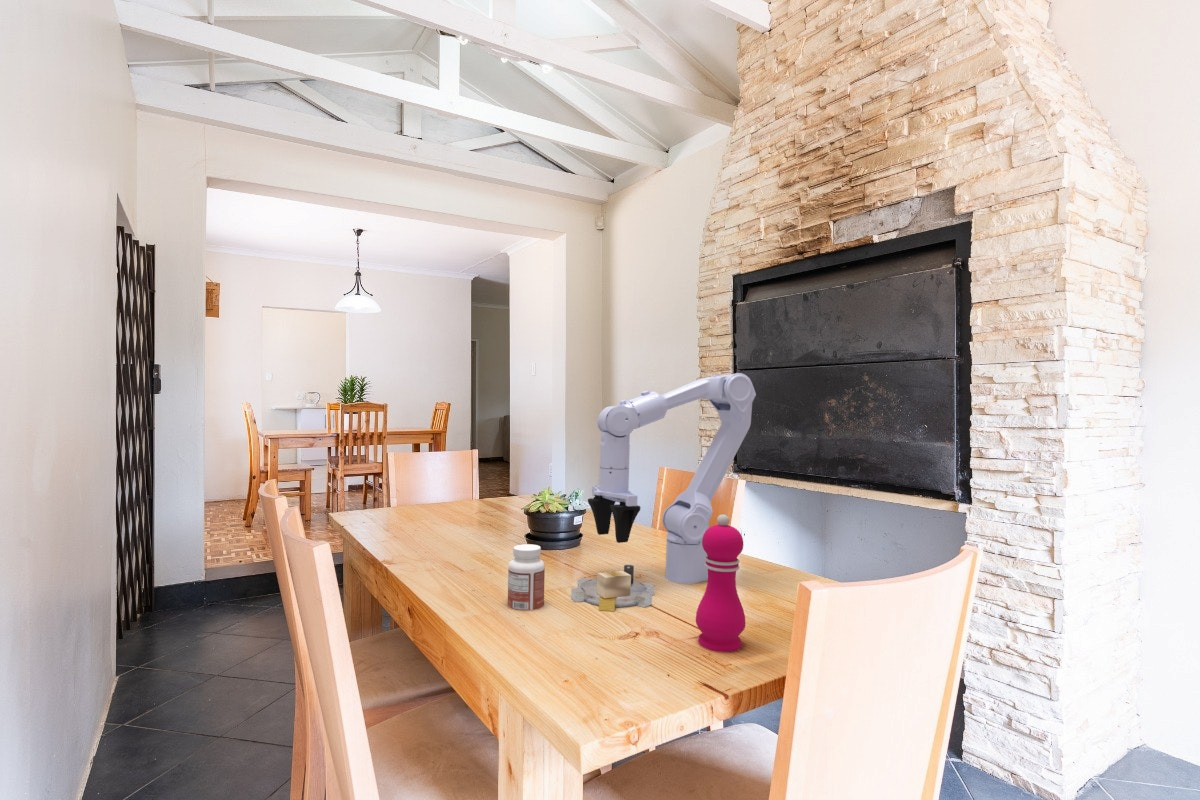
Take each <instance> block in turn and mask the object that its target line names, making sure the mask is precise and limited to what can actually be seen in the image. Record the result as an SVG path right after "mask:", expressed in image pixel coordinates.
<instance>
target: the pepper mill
mask: <svg viewBox="0 0 1200 800" xmlns="http://www.w3.org/2000/svg"><path fill="white" fill-rule="evenodd" d="M716 522H717V524H714V525H711V526H709V528H708V529H707V530H706V531H705V533H704V535H703V538H702V546H703V549H704V551H705V552H706V553H707V556H706V557H705V561H706V563H705V567H706V568H708V581H706V582H707V583H706V588H705V591H704V593H703V596H702V598H701V600H700V602H699V603H698V606H697V609H696V614H695V623H696V626H697V628H698V630H700V632H701V633H700V634H699V635H698V639H697V640H698V644H699V645H700V646H701V647H702V648H704V649H707V650H710V651H714V652H719V653H727V652H728V653H732V652H736V651H738V650H740V649H741V648H742V639H741V638H740V635H741V634H742V633H743V632H744V630H745V628H746V615H745V610H744V608H743V605H742V602H741V600H740V598H739V594H738V590H737V584H736V581H737V580H736V576H737V571H738V570H739V569H740V566H739V563H740V559H738V557H739V555H740V554H741V553H742V552H743V550H744V538H743V536H742V534H741V532H740V531H739V530H738V529H737V528H735V527H734V526H731V525H729V524H730V518H729V516H728V515H726V514H723V513H722V514H719V515H718V516H717V519H716Z"/></svg>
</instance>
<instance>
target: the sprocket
mask: <svg viewBox="0 0 1200 800" xmlns="http://www.w3.org/2000/svg"><path fill="white" fill-rule="evenodd" d="M623 571H624V572H626V573H628V574H630V575H631V589H630V596H622V597H614V598H603V597H601V596H600V595H598V594H597V593H596V590H597V578H593V579H591V578H588V577H583V578H579V579H577V587H575V588H571V590H570V591H571V592H570V593H571V594H570V598H571V600H572V601H573V602H575V603H578V602H585V603H586V604H587V603H588V604H590V605H593V606H598V610H599V611H604V612H605V611H607V612H615V611H616V608H629V607H636V606H638V607H641V608H643V609H645V608H647V607H650V606H651V605H652V603H653V596H655V585H654V584H652V583H651V582H639V581H636V580H634V571H635V565H633V564H623Z"/></svg>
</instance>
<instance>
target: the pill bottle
mask: <svg viewBox="0 0 1200 800" xmlns="http://www.w3.org/2000/svg"><path fill="white" fill-rule="evenodd" d="M512 548H513V549H512V550H513V551H512V556H513V557H514V558H513V559H511V560H510V561H509V563H508V570H507V572H508V575H507V577H508V578H507V606H508V608H510V609H512V610H516V611H535V610H539V609H541V608H543V607H544V606H545V569H546V568H545V567H546V566H545V562H544V561H543V560H542V559H541V558H540V557H541V554H542V548H541V546H540V545H538V544H532V543H531V544H530V543H525V544H523V543H522V544H517V545H515V546H513V547H512Z"/></svg>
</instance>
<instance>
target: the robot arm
mask: <svg viewBox="0 0 1200 800" xmlns="http://www.w3.org/2000/svg"><path fill="white" fill-rule="evenodd" d="M756 396H757V393H756V390H755V387H754V384H753V382H752V380H751V378H750V377H749V376H747V375H746V374H744V373H741V372H737V373H730V374H715V375H712V376H707V377H703V378H699V379H696V380H694V381H692V382H689V383H687V384H685V385H682V386H679V387H677V388H675V389H672V390H670V391H667V392H665V393H663V394H660V393H658V392H656V391H653V390H652V391H651V392H650V390H644V391H641V392H640V396H637V397H635V398H632V399H628V400H626V399H622V400H620V401H619V405H610V406H607V407H604V408H603V409H602V411H600V413H599V415H598V418H597V419H596V426H597V428H598V430H599V431H600V444H599V445H600V446H599V447H600V449H599V475H598V476H599V477H598V481H599V483H598V485H591V496H593V498H592V497H591V498H588V499H587V503H588V505H589V507H590V509H591V511H592V514H593V515H592V516H593V517H594V522H595V528H596V532H597V535H599V536H600V535H601V536H602V535H609V532H610V528H611V518H612V516H613V521H614V530H615V532H614V534H615V540H616V543H618V544H620V543H622V544H623V543H628V541H629V538H630V535H631V531H632V528H633V524H634V522H635V521H636V518H637V516H638V514H639V513H640V511H641V506H640V505H638V494H637V495H636V494H635V493H633V492H632V491H630V490H629V483H630V482H629V481H630V479H629V478H630V449H631V448H630V446H631V445H630V439H631V438H630V436H631V435H630V434H631V433H632V432H633V431H634V430H636V429H638V428H639V429H640V428H642V427H645V426H647V425H650V424H652V423H654V422H657V421H660V420H662V419H663V420H664V418H665V417H666V415H667V412H668V410H671V409H674V408H676V407H679V406H682V405H685V404H689V403H691V402H695V401H697V400H700V399H701V400H708V401H709V402H710V404H711V405H712V406H713V408H714V410H716V412H717V413H718V414H717V415H718V416H719V418H720V421H721V423H720V426H719V428H718V430H717V432H716V433H715V434H714V437H713V439H712V441H711V443H710V445H709V447H708V449H707V451H706V452H705V454H704V456H703V457H702V460H701V462H700V463H699V466H698V467H697V469H696V471H695V473H694V475H693V477H692V479H691V480H690V482H689V484H688V486H687V488H686V489H685V490H684V491H683V492H681V493H680V494H678V495H677V496H676V498H675V500H674V501H673V502H672V504H670V505H669V506H667V507H666V509H665V510H664V511H663V514H662V517H661V518H662V524H663V525H662V526H663V527H664V529H665V530H666V531H667V535H666V548H665V551H666V552H665V555H666V556H665V580H667V581H669V582H671V583H676V584H681V585H683V584H685V585H687V584H688V585H692V584H698V583H702V582H707V581H708V568H706V567H705V563H706V561H705V557H706V556H707V553H706V552H705V551H704V549H703V546H702V538H703V535H704V533H705V531H706V530H707V529H708V528H710V520H711V518H712V515H713V513H714V511H713V507H712V501H713V499H714V497H715V494H716V493H717V491H718V488H719V487H720V485H721V483H722V481H723V479H724V478H725V475H726V474H727V471H728V470H729V467H730V466H731V465H732V462H733V460H734V458H735V456H736V455H737V452H738V451H739V449H740V447H741V445H742V444H743V441H744V439H745V438H746V435H747V434H748V432H749V430H750V427H751V424H752V411H753V410H752V409H753V402H754V400H755V398H756ZM616 503H619V504H616Z"/></svg>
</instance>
